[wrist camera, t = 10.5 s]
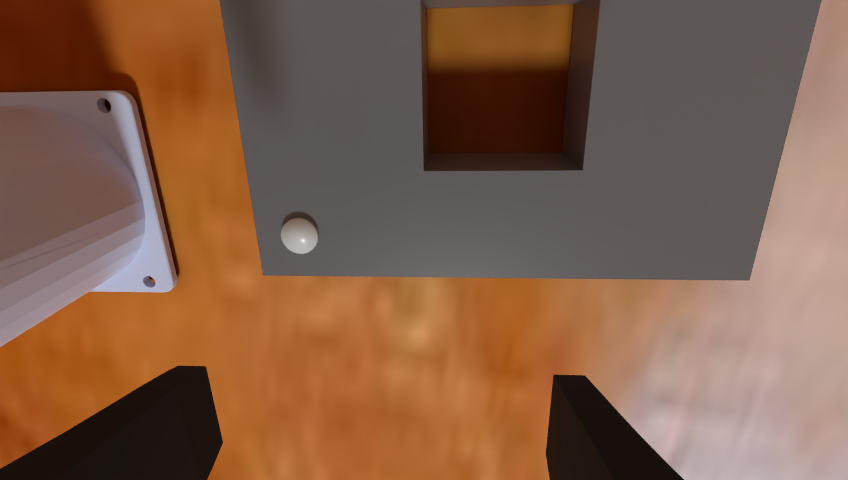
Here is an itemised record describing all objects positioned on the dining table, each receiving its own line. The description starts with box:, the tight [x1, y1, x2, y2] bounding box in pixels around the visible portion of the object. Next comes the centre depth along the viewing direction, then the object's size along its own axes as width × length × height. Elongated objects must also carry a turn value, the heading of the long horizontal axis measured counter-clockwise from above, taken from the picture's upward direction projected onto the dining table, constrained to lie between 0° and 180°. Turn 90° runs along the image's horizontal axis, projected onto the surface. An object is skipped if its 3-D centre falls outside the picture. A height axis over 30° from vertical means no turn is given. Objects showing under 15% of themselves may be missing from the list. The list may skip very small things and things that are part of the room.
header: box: [220, 0, 821, 280], centre depth 15 cm, size 16×12×3 cm
